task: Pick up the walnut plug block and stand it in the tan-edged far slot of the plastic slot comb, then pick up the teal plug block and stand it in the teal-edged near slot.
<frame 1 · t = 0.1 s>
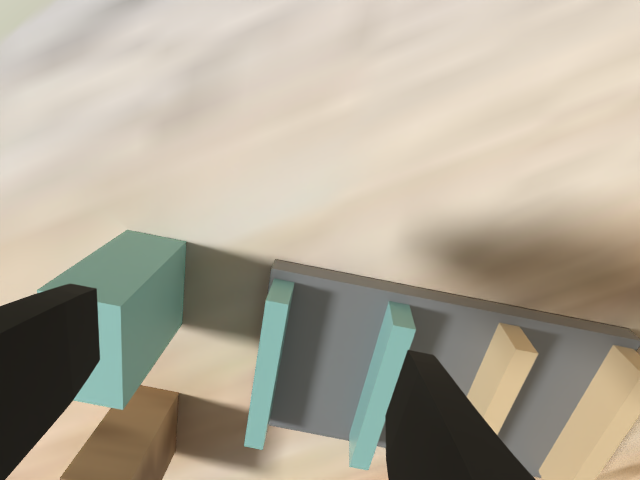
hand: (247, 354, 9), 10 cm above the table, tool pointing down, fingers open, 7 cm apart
walnut plug: (153, 417, 24), on the table
slot comb: (423, 371, 21), on the table
teal plug: (156, 278, 20), on the table
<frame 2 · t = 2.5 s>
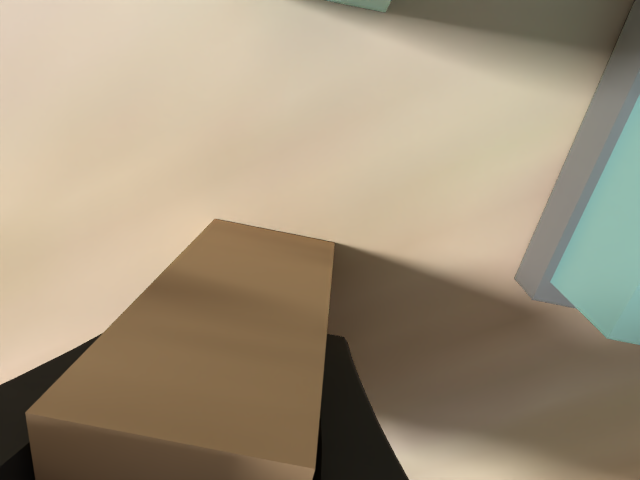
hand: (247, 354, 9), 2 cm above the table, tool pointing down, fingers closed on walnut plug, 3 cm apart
walnut plug: (262, 315, 10), on the table, touching gripper
when the fingers open (4 cm above the table, at t = 6.3 s): walnut plug stays where it is, resting on slot comb.
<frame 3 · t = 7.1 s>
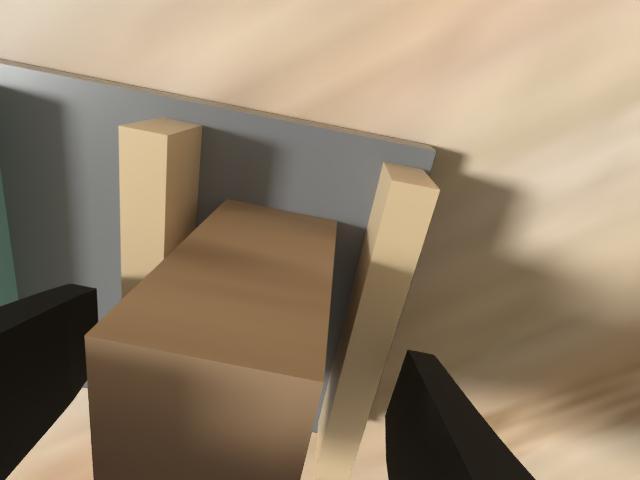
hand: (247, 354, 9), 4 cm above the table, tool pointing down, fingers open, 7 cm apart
walnut plug: (269, 290, 11), point 1 cm above the table, touching slot comb
slot comb: (104, 246, 12), on the table
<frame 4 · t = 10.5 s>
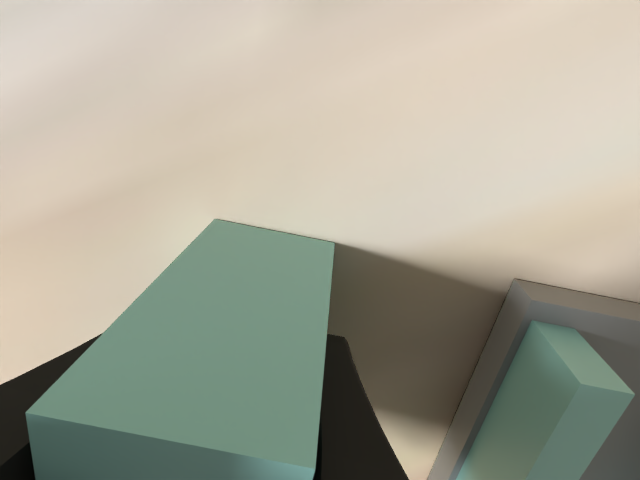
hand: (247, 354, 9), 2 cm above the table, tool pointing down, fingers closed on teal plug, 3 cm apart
teal plug: (262, 315, 10), on the table, touching gripper
when the fingers open (4 cm above the table, at t = 13.4 s): teal plug stays where it is, resting on slot comb.
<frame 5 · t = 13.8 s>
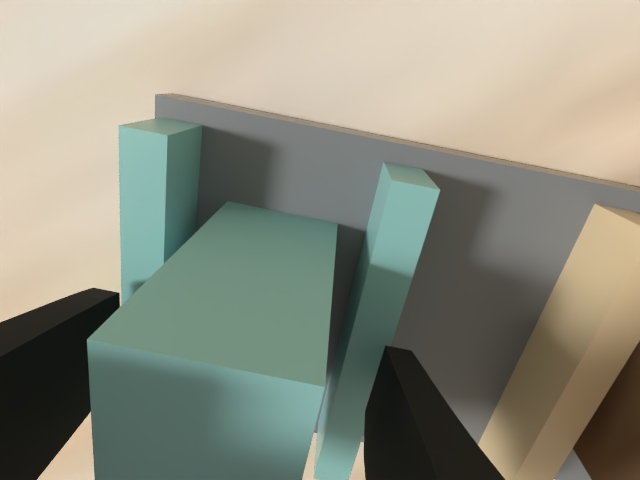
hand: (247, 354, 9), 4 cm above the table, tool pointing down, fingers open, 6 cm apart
walnut plug: (637, 362, 11), point 1 cm above the table, touching slot comb
slot comb: (444, 313, 12), on the table
teal plug: (270, 291, 11), point 1 cm above the table, touching slot comb
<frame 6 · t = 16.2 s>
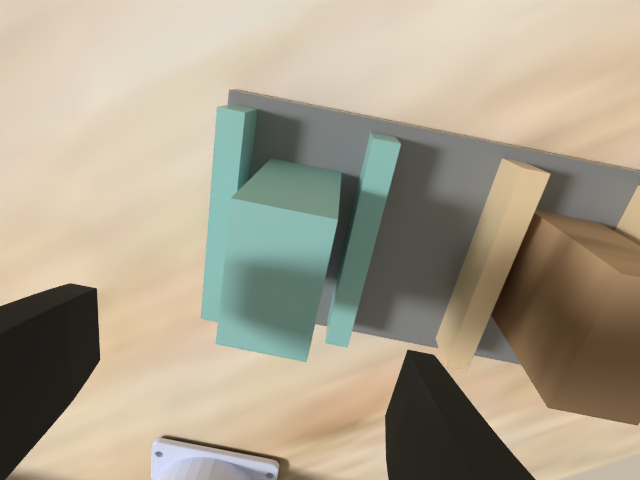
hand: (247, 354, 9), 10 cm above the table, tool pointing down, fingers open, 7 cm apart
walnut plug: (539, 267, 17), point 1 cm above the table, touching slot comb
slot comb: (413, 239, 18), on the table
teal plug: (296, 220, 17), point 1 cm above the table, touching slot comb
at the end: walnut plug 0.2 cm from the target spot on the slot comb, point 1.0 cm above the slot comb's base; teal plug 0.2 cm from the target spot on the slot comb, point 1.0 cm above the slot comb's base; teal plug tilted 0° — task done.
